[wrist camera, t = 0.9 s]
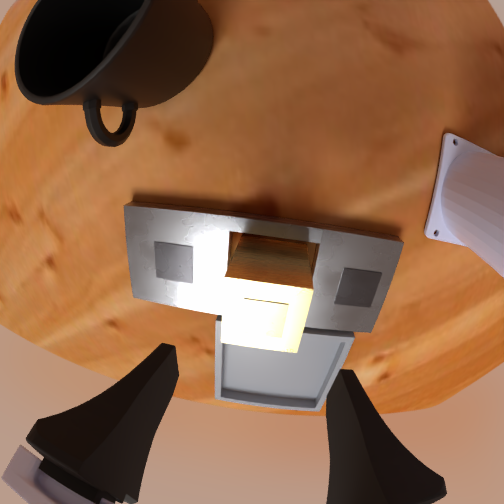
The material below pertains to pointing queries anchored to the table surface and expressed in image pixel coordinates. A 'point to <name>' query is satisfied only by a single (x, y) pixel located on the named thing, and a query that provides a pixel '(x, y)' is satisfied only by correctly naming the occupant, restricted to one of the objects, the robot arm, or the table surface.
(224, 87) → the table surface
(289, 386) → the parts tray
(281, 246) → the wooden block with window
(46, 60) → the mug
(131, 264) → the metal plate with cutout
